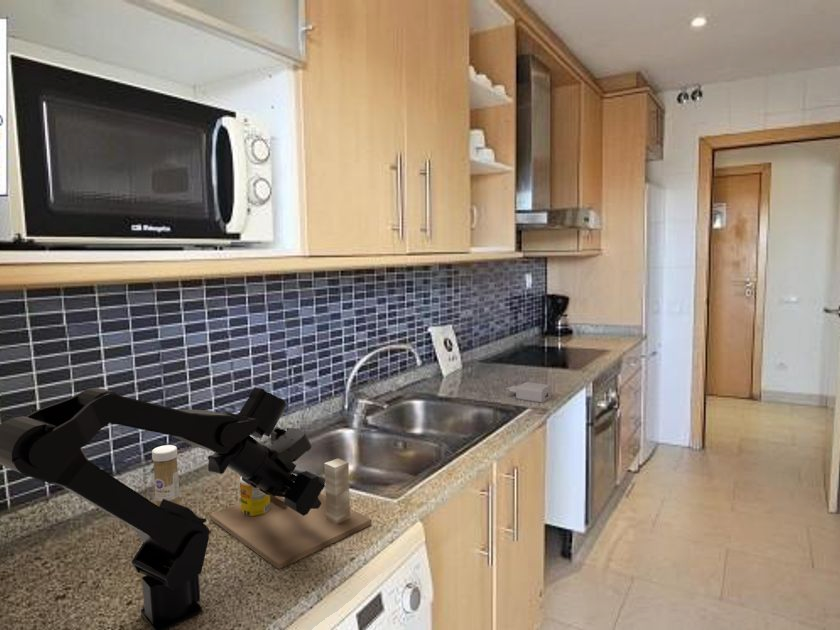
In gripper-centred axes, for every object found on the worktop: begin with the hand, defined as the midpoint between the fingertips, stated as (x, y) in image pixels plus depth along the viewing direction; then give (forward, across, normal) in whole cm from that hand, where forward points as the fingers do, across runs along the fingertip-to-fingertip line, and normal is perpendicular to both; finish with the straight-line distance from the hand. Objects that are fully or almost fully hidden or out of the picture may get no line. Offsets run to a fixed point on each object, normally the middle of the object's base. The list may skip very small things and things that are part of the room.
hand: (311, 501), depth 99 cm
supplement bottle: (+3, +15, +7) cm, 17 cm away
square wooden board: (+5, +8, +5) cm, 10 cm away
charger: (+80, +23, -70) cm, 109 cm away
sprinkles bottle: (-5, +29, +15) cm, 33 cm away
